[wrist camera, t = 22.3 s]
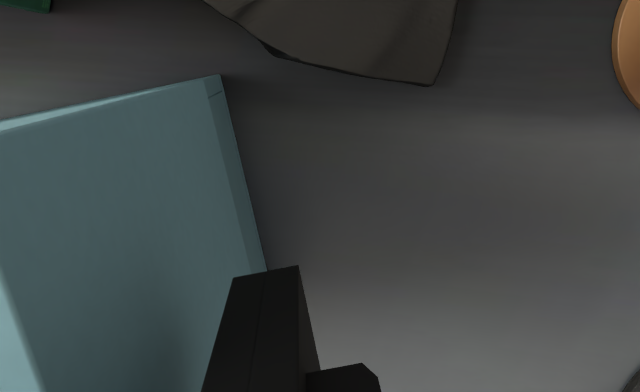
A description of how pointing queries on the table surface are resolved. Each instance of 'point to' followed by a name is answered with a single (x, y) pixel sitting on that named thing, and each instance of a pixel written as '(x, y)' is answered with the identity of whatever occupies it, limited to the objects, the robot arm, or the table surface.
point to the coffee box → (29, 5)
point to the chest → (226, 146)
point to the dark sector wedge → (352, 34)
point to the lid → (115, 246)
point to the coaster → (627, 49)
